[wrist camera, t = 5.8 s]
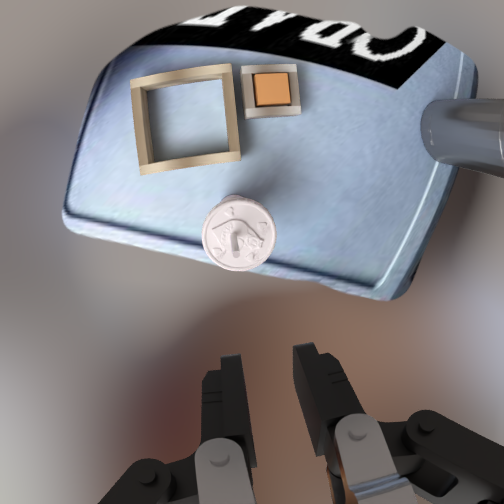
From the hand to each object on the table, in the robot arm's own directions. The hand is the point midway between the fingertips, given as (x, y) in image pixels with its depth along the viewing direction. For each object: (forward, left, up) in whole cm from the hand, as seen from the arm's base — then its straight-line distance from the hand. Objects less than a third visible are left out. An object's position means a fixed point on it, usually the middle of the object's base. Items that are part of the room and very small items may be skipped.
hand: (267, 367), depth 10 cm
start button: (-5, -13, -24) cm, 28 cm away
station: (+1, -11, -25) cm, 27 cm away
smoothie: (0, 0, -25) cm, 25 cm away
